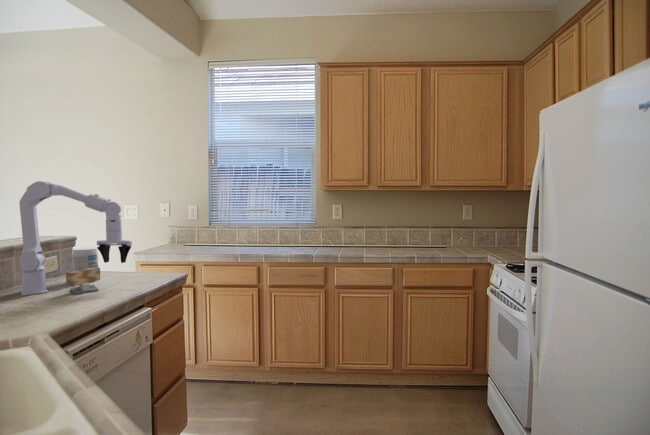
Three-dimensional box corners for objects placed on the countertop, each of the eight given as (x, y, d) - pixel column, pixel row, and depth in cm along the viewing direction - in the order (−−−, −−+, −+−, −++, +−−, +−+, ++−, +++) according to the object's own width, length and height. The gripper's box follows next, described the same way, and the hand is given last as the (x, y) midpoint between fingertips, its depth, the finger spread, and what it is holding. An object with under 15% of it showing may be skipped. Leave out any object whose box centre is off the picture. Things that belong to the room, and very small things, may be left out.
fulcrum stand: (70, 289, 151) (70, 281, 151) (93, 286, 156) (93, 278, 156) (74, 294, 143) (74, 286, 143) (98, 290, 149) (98, 283, 148)
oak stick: (94, 279, 156) (93, 267, 155) (100, 279, 155) (99, 267, 154) (66, 285, 144) (65, 272, 144) (72, 286, 143) (72, 273, 143)
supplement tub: (94, 282, 163) (93, 249, 162) (69, 283, 161) (68, 250, 160) (102, 278, 172) (100, 246, 171) (79, 279, 170) (77, 247, 169)
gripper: (91, 231, 153) (92, 263, 154) (124, 231, 152) (125, 264, 153) (102, 229, 160) (103, 260, 161) (134, 230, 159) (135, 261, 160)
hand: (115, 262), depth 158 cm, fingers open, 7 cm apart
